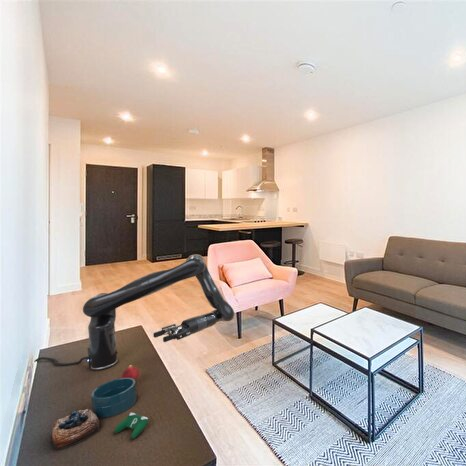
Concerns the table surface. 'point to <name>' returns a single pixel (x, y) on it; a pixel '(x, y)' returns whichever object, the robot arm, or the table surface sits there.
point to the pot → (114, 397)
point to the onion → (131, 373)
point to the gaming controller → (133, 424)
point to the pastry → (74, 428)
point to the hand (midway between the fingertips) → (158, 337)
